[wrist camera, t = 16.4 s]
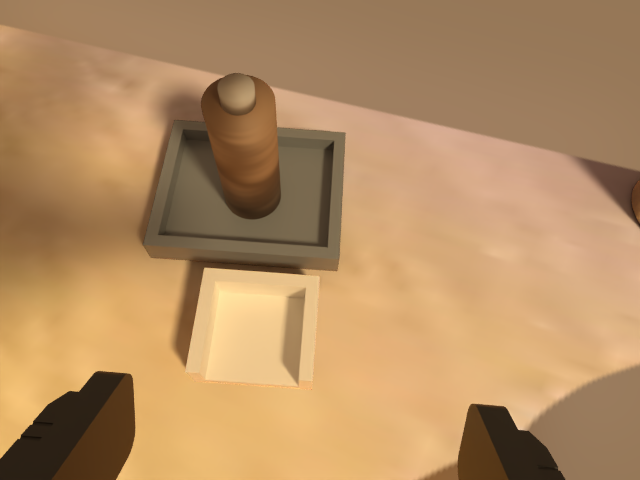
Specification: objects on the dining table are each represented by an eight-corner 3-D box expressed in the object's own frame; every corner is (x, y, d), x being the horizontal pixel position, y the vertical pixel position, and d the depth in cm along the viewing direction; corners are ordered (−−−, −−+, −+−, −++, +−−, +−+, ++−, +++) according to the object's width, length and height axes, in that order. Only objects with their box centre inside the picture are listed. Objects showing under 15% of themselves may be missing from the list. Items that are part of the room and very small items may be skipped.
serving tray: (343, 149, 48) (345, 132, 45) (337, 271, 42) (339, 259, 40) (180, 136, 48) (174, 119, 45) (151, 257, 42) (142, 245, 40)
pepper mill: (283, 174, 45) (278, 61, 33) (278, 221, 43) (270, 119, 31) (229, 170, 45) (204, 56, 33) (221, 217, 43) (190, 113, 31)
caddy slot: (318, 291, 41) (319, 276, 38) (311, 389, 37) (312, 381, 34) (211, 284, 41) (204, 267, 38) (194, 381, 37) (184, 372, 34)
